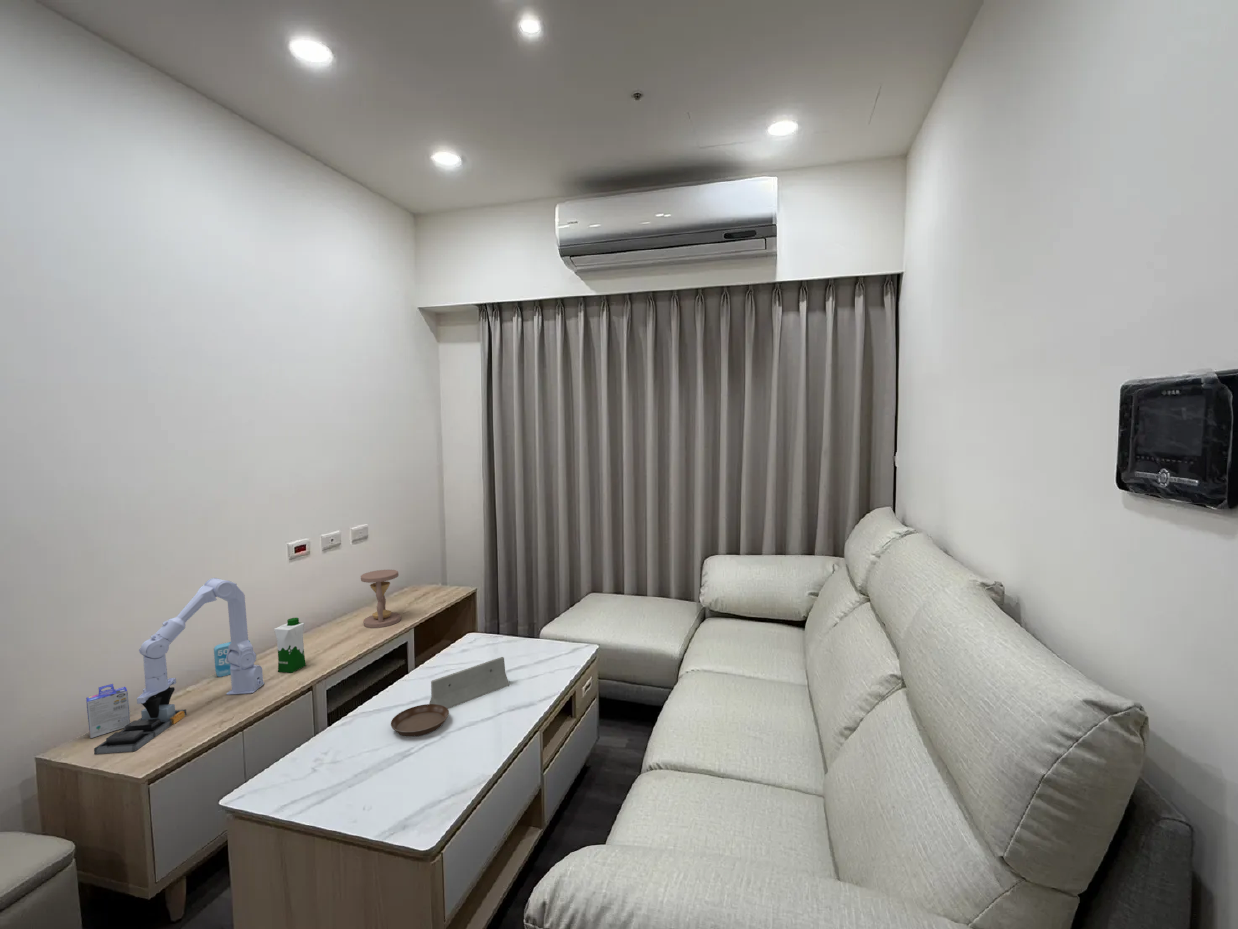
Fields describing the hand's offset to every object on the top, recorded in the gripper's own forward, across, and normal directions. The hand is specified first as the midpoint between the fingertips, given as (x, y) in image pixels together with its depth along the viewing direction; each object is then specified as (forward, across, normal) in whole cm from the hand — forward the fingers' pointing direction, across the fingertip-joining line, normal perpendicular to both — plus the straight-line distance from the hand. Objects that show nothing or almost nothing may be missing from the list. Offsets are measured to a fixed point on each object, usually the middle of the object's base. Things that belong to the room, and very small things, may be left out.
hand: (159, 714), depth 183 cm
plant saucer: (+3, +15, +90) cm, 91 cm away
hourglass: (+3, -91, +42) cm, 100 cm away
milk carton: (+3, -38, +24) cm, 45 cm away
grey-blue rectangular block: (+3, 0, 0) cm, 3 cm away
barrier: (+3, -4, +102) cm, 102 cm away
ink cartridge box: (+3, +3, -13) cm, 14 cm away
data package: (+3, -39, +1) cm, 39 cm away
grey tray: (+3, +7, 0) cm, 7 cm away
